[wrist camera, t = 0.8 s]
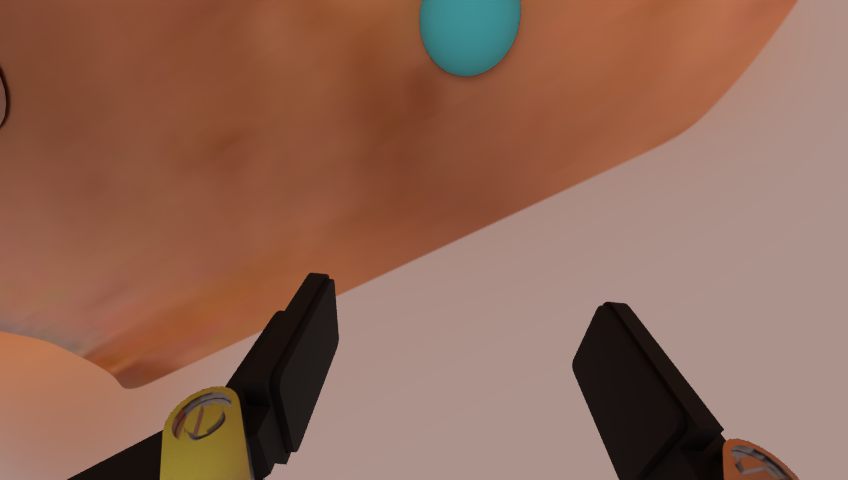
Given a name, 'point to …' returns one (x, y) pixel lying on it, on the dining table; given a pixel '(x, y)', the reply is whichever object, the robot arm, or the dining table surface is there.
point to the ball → (468, 33)
